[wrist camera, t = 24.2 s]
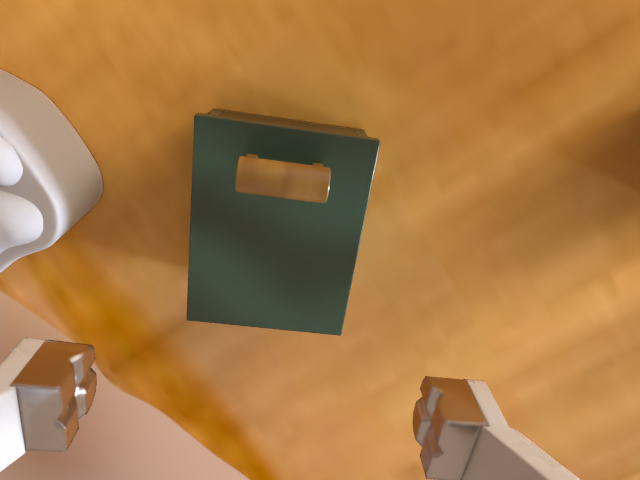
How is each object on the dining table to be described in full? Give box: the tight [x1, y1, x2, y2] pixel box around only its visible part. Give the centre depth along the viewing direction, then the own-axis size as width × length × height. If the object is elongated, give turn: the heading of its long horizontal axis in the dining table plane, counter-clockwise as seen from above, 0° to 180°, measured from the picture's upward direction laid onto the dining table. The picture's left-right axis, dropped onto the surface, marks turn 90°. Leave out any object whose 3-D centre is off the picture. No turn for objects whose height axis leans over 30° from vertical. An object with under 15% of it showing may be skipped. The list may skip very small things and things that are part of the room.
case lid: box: [187, 113, 380, 335], centre depth 30 cm, size 14×11×5 cm
